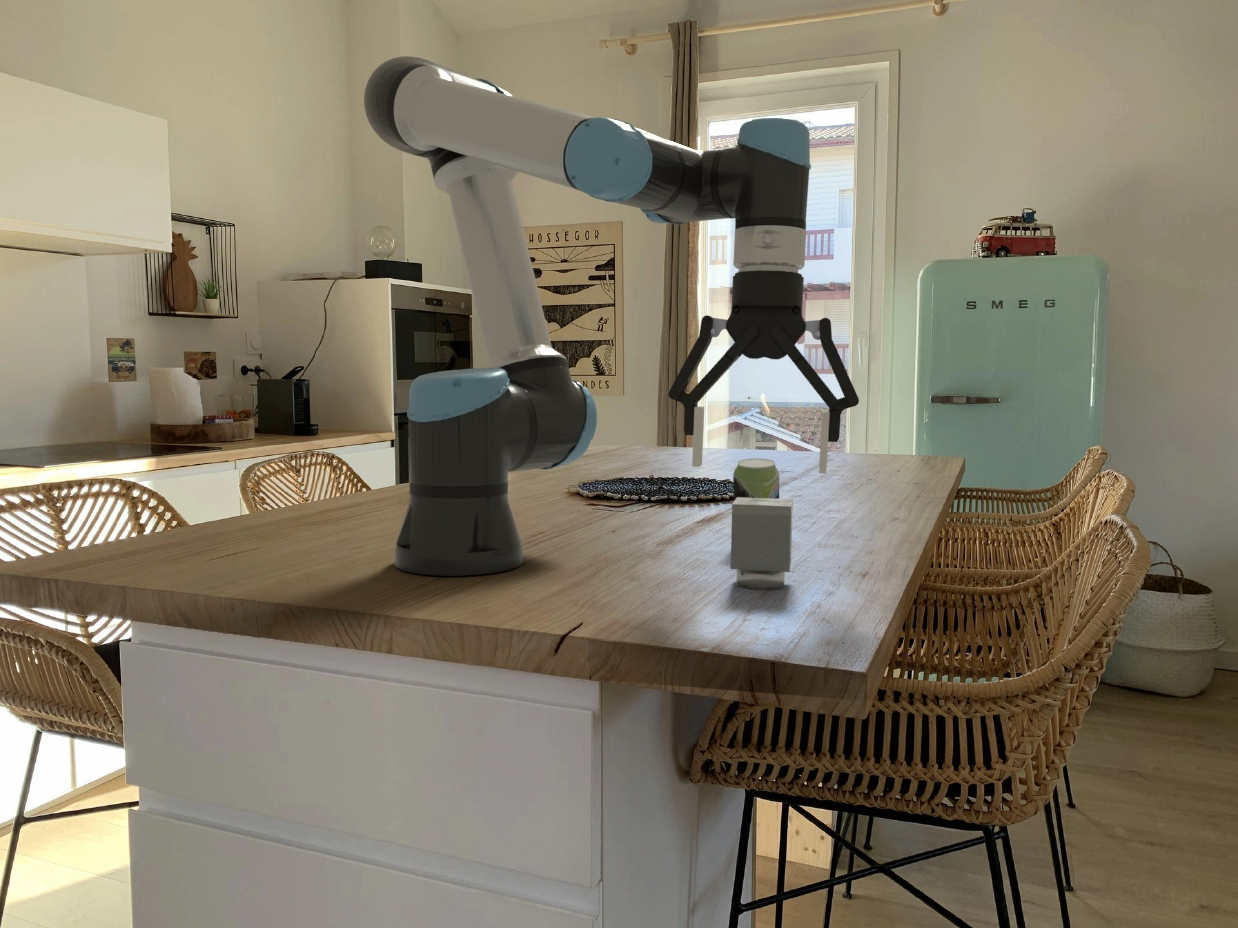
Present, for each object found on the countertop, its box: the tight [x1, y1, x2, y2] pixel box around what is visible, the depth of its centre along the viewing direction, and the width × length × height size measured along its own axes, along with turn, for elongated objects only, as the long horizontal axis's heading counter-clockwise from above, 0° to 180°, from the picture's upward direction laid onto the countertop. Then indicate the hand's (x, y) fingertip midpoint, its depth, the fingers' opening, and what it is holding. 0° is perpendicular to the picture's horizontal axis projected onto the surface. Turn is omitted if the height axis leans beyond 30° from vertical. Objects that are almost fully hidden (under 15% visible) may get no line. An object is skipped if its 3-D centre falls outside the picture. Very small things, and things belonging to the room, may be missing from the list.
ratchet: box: [736, 569, 786, 591], centre depth 108 cm, size 5×17×6 cm, turn 168°
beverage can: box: [732, 458, 780, 503], centre depth 123 cm, size 6×7×12 cm
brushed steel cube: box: [730, 497, 794, 573], centre depth 101 cm, size 6×6×7 cm
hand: (758, 469), depth 101 cm, fingers open, 13 cm apart
